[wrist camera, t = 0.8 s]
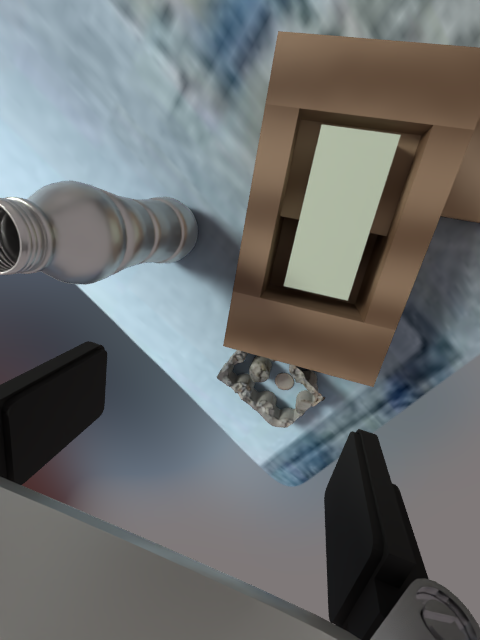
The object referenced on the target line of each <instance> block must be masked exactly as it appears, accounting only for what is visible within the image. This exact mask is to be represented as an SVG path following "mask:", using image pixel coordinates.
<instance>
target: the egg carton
mask: <svg viewBox="0 0 480 640" xmlns="http://www.w3.org/2000/svg"><path fill="white" fill-rule="evenodd" d="M246 355H247V352H243V351H240V350H237V351H236V352H235V353H234V354H233V355H232V356H231V357H230V359H229V361H228V362H227V363H225V365H224V366H223V368H222V369H221V370H220V372H219V374H218V376H217V379H219V380H220V381H222V382H223V383H225V384H226V385H227V386H229V387H231V388H232V389H233V390H234V391H235V393H238V394H239V396H240V398H241V400H243V401H245V402H246V403H248V404H249V405H250V406H251V407H252V408H253V409H254V410H256V411H257V412H258V413H259V414H260V415H261V416H262V417H263V418H264V419H265V420H266V421H267V422H268V423H269V424H271V425H272V426H275V427H284V428H285V427H288V426H290V425H291V424H293V423H294V421H295V420H297V419H298V418H299V417H300V416H302V415H303V414H304V413H305V411H306V410H307V409H309V408H310V407H311V406H312V407H314V406H315V405H317V404H318V403H319V402H320V401H323V400H324V399H325V397H322V395H321V394H320V393H318V386H317V384H316V383H317V376H316V374H315V373H314V372H313V371H312V370H308V371H304V372H303V371H300V370H299V369H298V368H297V367H296V366H295V365H291V364H290V366H289V371H290V373H291V375H292V376H291V375H289V374H287V373H280V374H278V375H277V376H276V378H275V383H276V385H277V386H278V388H280V389H282V390H288V389H290V388H292V386H293V384H294V380H293V378H294V379H295V380H296V382H297V383H301V384H303V385H304V386H305V387H306V389H307V390H308V391H307V390H304V391H301V392H299V393H298V395H297V398H296V408H295V409H292V408H283V409H279V408H278V407H276V406H275V405H276V396H275V395H274V393H272V392H270V391H262V392H260V393H259V392H258V391H256V390H255V389H254V385H255V382H265V381H266V380H267V379H268V378H269V375H270V370H271V367H272V363H271V361H273V362H274V361H276V360H273V359H269V358H265V357H262V356H256V357H255V358H254V360H253V362H252V364H251V366H250V369H249V373H250V375H249V374H247V373H243V374H240V375H236V374H235V373H234V372H233V371H232V370H233V366H234V365H236V364H237V363H242V362H243V361H244V360H245V357H246Z"/></svg>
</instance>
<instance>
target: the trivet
mask: <svg viewBox="0 0 480 640" xmlns="http://www.w3.org/2000/svg"><path fill="white" fill-rule="evenodd" d="M441 217H447V218H453V219H459V220H465V221H470V222H476V223H480V117H479V120H478V122H477V125H476V127H475V130H474V132H473V135H472V137H471V140H470V142H469V145H468V148H467V150H466V153H465V155H464V158H463V160H462V163H461V165H460V168H459V170H458V173H457V175H456V178H455V181H454V183H453V186H452V188H451V191H450V193H449V196H448V198H447V201H446V203H445V206H444V208H443V211H442V214H441Z"/></svg>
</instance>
